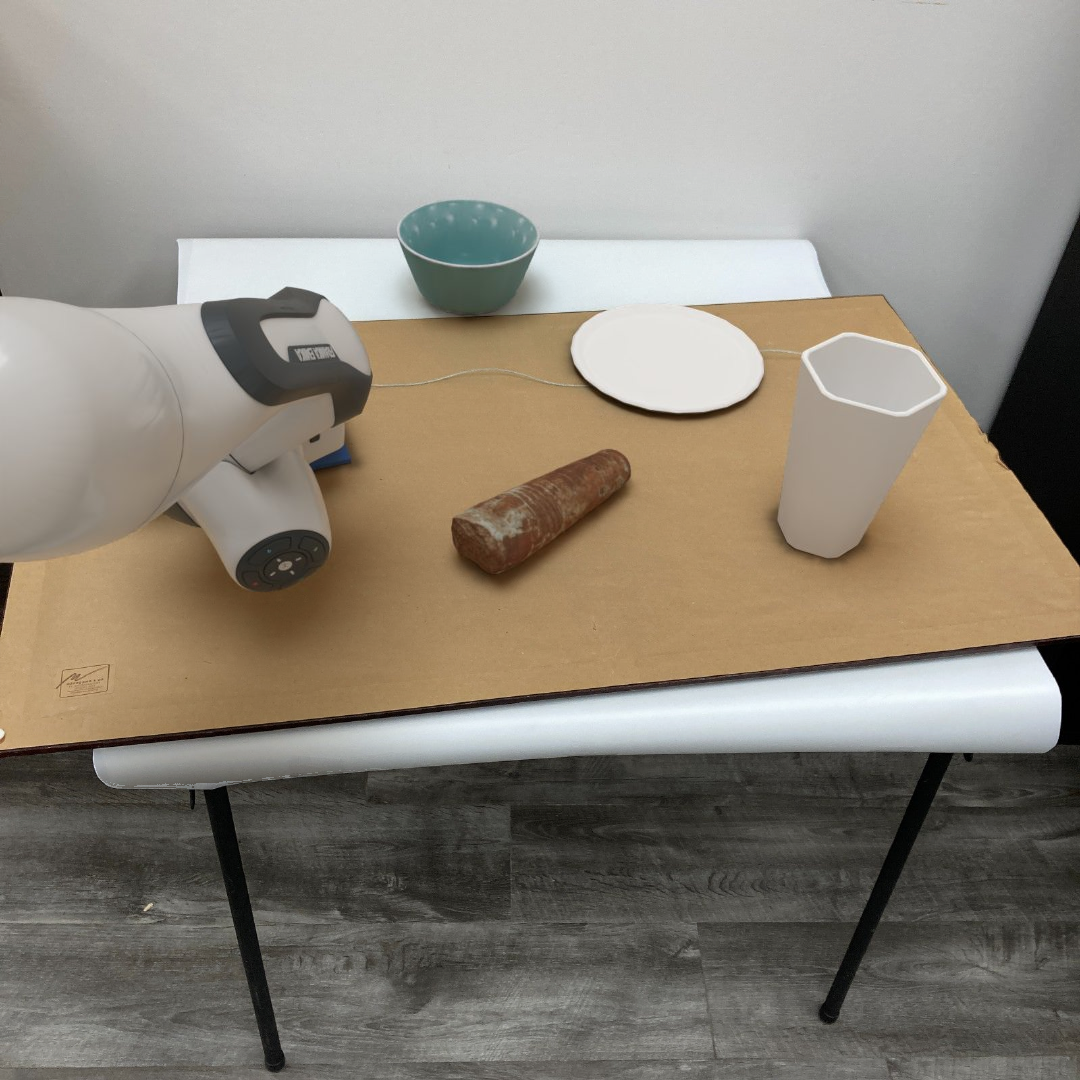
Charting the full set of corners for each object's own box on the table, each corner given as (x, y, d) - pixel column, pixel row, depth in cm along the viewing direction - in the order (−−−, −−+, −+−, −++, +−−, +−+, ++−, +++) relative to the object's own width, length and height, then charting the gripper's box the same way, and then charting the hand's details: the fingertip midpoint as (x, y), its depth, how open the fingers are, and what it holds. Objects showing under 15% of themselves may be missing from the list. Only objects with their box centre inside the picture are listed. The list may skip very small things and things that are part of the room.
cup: (888, 513, 90) (953, 356, 78) (872, 586, 83) (941, 427, 71) (769, 478, 92) (814, 321, 81) (744, 547, 86) (789, 386, 74)
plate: (751, 438, 97) (754, 428, 96) (548, 397, 100) (549, 387, 99) (771, 330, 111) (773, 321, 111) (593, 297, 115) (594, 288, 114)
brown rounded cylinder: (443, 555, 83) (442, 506, 79) (600, 464, 93) (606, 416, 89) (492, 597, 80) (493, 548, 76) (649, 498, 90) (658, 450, 86)
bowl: (550, 275, 118) (554, 210, 112) (516, 344, 107) (518, 275, 101) (426, 253, 120) (424, 188, 114) (380, 318, 109) (375, 250, 103)
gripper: (117, 495, 80) (98, 400, 88) (362, 442, 86) (321, 359, 95) (97, 433, 75) (79, 340, 84) (356, 383, 82) (314, 301, 91)
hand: (210, 350), depth 90 cm, fingers closed on pill bottle, 5 cm apart
